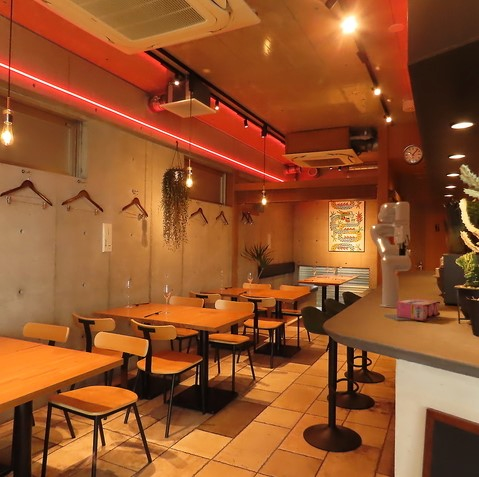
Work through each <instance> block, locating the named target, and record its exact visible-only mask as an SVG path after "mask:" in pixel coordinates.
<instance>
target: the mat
mask: <svg viewBox="0 0 479 477" xmlns="http://www.w3.org/2000/svg"><path fill="white" fill-rule="evenodd" d="M383 316H384V317H385V318H387V319H390V320H393V321H397V322H420V321H421V322H423V321H426V322H427V321H428V322H429V321H430V322H431V321H443V318H441V317H439V316H436V317H432V318H429V319H426V320H416V319H409V318H402V317H397V314H383Z"/></svg>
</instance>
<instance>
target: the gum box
mask: <svg viewBox="0 0 479 477" xmlns="http://www.w3.org/2000/svg"><path fill="white" fill-rule="evenodd" d="M440 304H441V301H437V300H429V299H421V298H412V299H406V300H399V302H397V308H396V315H397V317H402V318H409V319H416V320H426V319H429V318H432V317H440V315H441V312H440Z"/></svg>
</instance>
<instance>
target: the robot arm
mask: <svg viewBox="0 0 479 477" xmlns="http://www.w3.org/2000/svg"><path fill="white" fill-rule="evenodd" d="M410 209H411V208H410V203H409V202H408V201H397V202H386V203H383V204H382V205H381V206H380V209H379V212H378V214H377V219H378V220H379V222H381V223H375V224H373V225H371V227H370V228H369V233H370V238H371V240H372V242H373V243H374V244H375V246H376V247H377V251H378V253H379V255H380V257H381V259H380V267H381V274H382V280H381V281H382V283H381V284H382V285H381V286H382V288H381V290H382V298H381V301H382V303H381V302H380V304H379V306H380V307H382V308H393V309H397V302H400V300H399V299H400V298H399V296H400V294H399V293H400V285H399V281H400V280H399V276H398V274H397V273H396V272H407V271H409V270H410V269H411V267H412V262H411V261H412V260H411V258H410V256H409V253H408V251H407V246H409V243H410V242H411V231H410V225H411V224H410V212H411V211H410ZM386 237H393V243H394V244H391V242H390V240H389V239H388V238H386Z"/></svg>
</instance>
